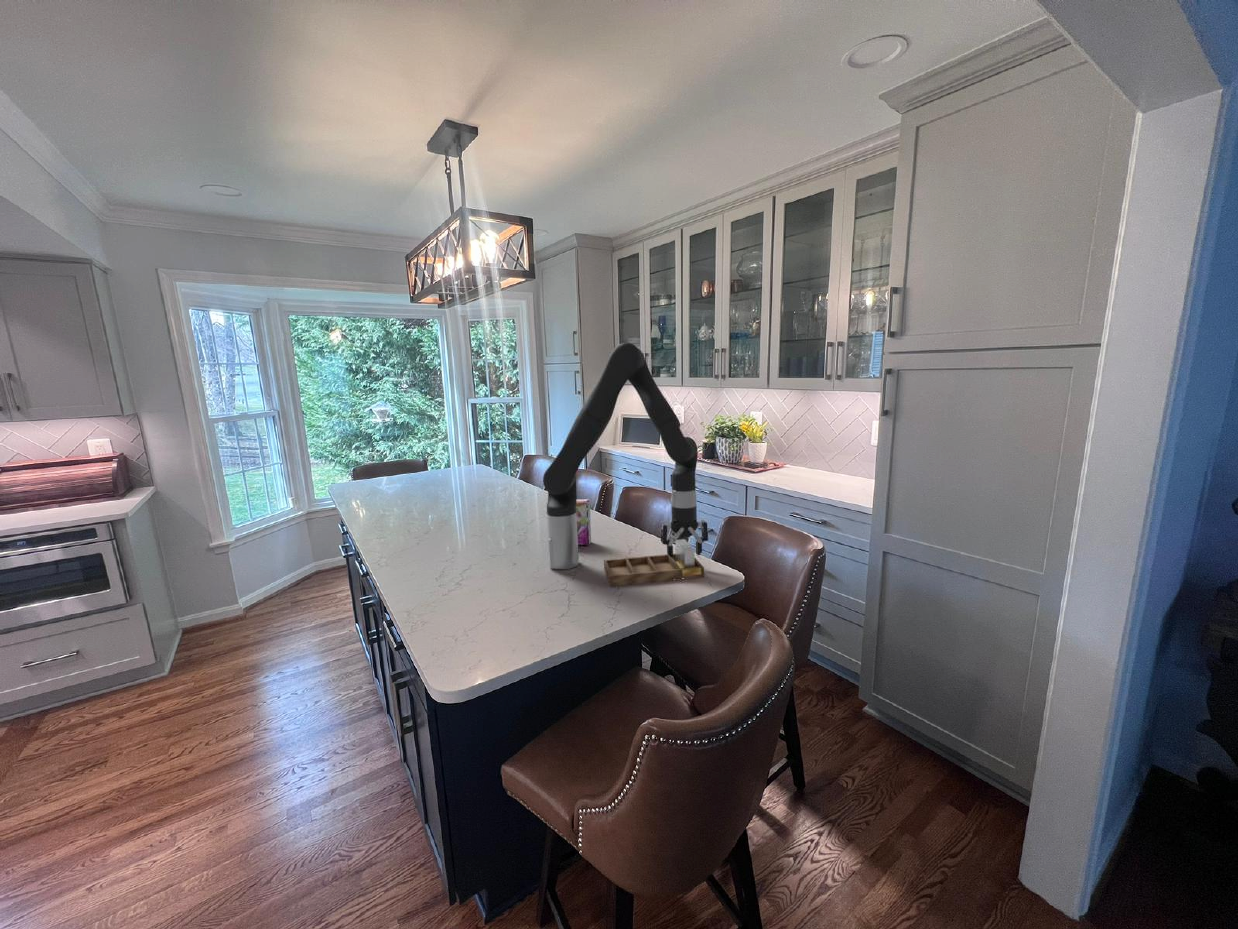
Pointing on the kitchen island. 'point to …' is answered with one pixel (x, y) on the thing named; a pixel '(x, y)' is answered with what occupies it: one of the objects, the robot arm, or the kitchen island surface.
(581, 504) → the candy bar box
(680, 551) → the panel
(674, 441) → the robot arm
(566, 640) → the kitchen island surface
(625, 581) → the rack
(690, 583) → the kitchen island surface
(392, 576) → the kitchen island surface
